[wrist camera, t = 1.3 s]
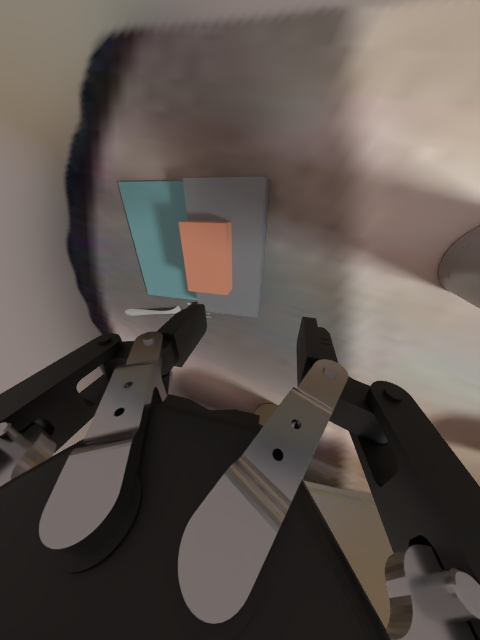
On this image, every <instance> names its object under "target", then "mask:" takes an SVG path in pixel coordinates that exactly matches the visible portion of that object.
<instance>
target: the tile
mask: <svg viewBox="0 0 480 640" xmlns="http://www.w3.org/2000/svg"><path fill="white" fill-rule="evenodd" d="M179 229H180V236H181V243H182V250H183V257H184V264H185V271H186V278H187V285H188V291H193V292H202V293H211V294H220V295H228V294H229V293H230V291H231V290H232V226H231V222H219V221H181V222H179Z"/></svg>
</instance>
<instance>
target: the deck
mask: <svg viewBox="0 0 480 640" xmlns="http://www.w3.org/2000/svg"><path fill="white" fill-rule="evenodd" d="M183 186H184V195H185V203H186V211H187V219H188V221H219V222H231V226H232V290H231V291H230V293H229V294H228V295H220V294H211V293H202V292H196V294H197V302H198V304H204V305H205V311H208V312H216V313H224V314H231V315H239V316H247V317H254V318H257V315H258V312H259V309H260V303H261V290H262V277H263V264H264V251H265V238H266V225H267V212H268V199H269V186H270V180H269V179H268V178H267V177H204V178H183Z"/></svg>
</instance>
